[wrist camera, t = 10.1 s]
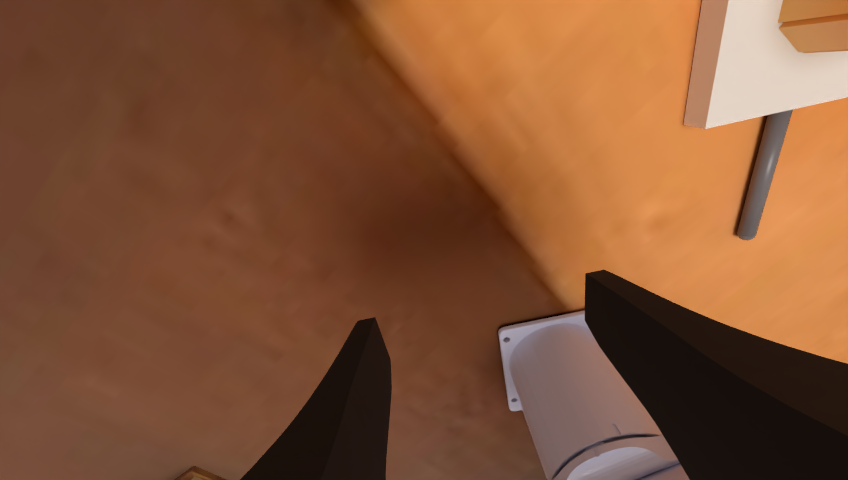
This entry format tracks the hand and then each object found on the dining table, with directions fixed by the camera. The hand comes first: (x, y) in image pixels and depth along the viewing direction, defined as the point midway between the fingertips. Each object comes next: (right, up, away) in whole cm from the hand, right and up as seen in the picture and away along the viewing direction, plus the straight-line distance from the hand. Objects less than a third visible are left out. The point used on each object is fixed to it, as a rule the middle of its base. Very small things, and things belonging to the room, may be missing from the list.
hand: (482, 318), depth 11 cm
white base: (+17, +11, +7) cm, 22 cm away
